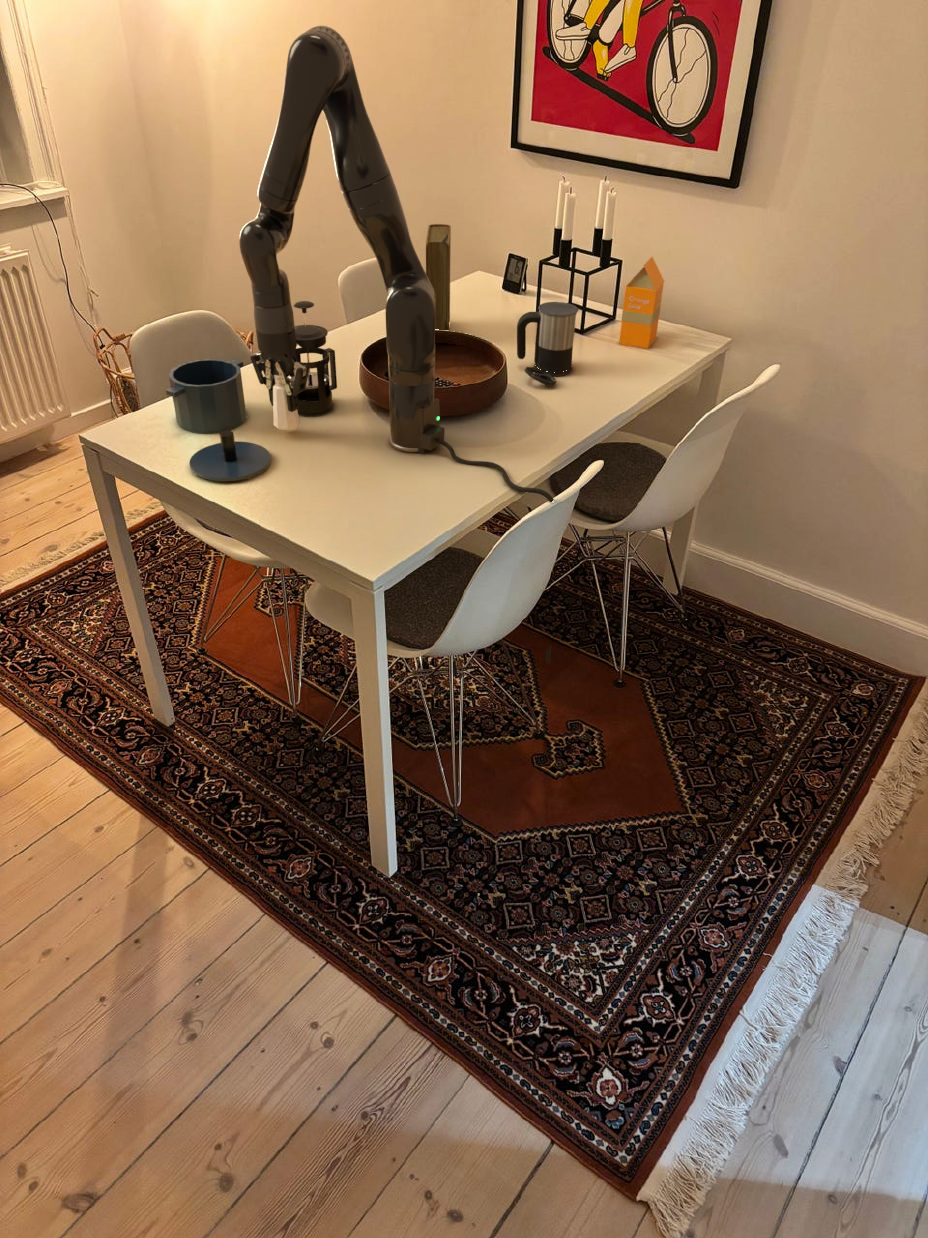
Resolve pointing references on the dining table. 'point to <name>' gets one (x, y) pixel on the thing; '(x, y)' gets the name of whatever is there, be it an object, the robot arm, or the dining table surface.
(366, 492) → the dining table surface
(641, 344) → the orange juice
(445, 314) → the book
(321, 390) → the french press
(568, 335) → the milk frother
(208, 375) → the pot
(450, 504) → the dining table surface
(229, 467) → the lid
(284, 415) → the pepper shaker
